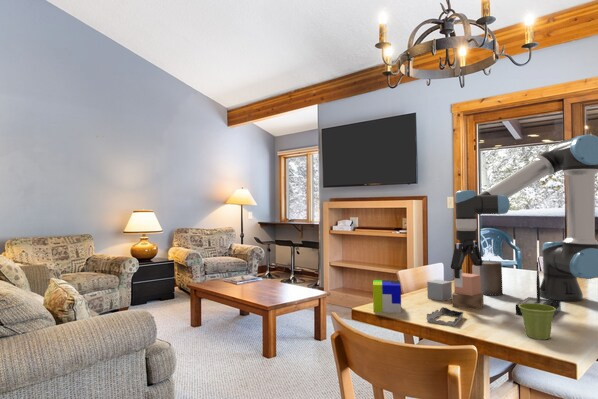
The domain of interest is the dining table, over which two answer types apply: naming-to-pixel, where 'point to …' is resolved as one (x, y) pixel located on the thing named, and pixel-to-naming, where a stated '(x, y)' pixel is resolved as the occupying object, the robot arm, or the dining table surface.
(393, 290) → the puzzle toy
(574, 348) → the dining table surface
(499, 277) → the pillar candle
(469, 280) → the terracotta cube
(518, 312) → the wireless controller
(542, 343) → the dining table surface
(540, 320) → the plant pot
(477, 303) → the walnut base block
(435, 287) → the slate grey cube
